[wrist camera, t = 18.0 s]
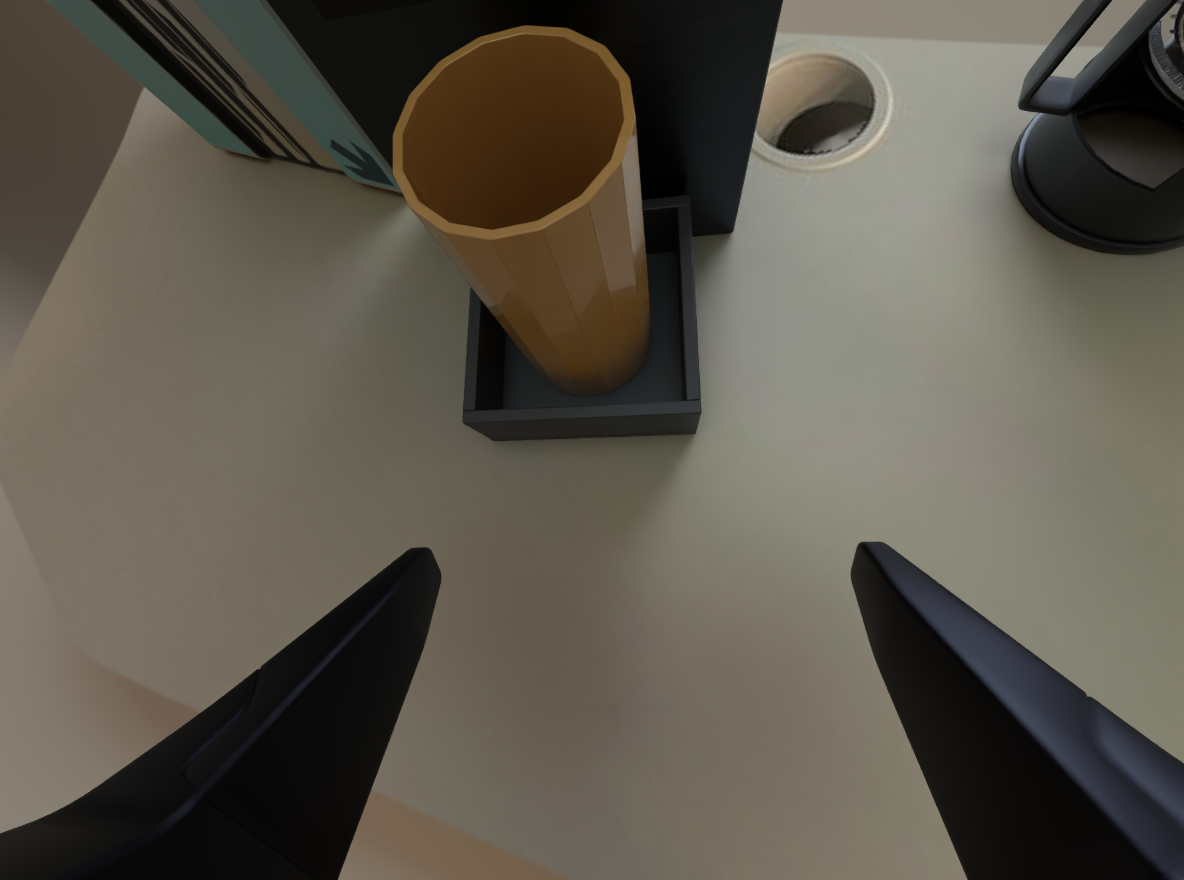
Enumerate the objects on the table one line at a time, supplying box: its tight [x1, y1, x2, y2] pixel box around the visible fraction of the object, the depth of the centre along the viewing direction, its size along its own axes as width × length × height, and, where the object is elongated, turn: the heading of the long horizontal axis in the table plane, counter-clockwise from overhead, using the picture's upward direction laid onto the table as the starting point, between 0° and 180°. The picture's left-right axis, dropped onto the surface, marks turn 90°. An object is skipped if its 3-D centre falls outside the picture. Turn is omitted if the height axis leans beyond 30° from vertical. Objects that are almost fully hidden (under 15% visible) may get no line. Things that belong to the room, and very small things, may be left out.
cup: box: [393, 25, 652, 396], centre depth 18 cm, size 7×7×13 cm
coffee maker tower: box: [266, 0, 783, 236], centre depth 17 cm, size 7×16×20 cm, turn 90°
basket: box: [463, 195, 701, 441], centre depth 23 cm, size 11×11×4 cm
